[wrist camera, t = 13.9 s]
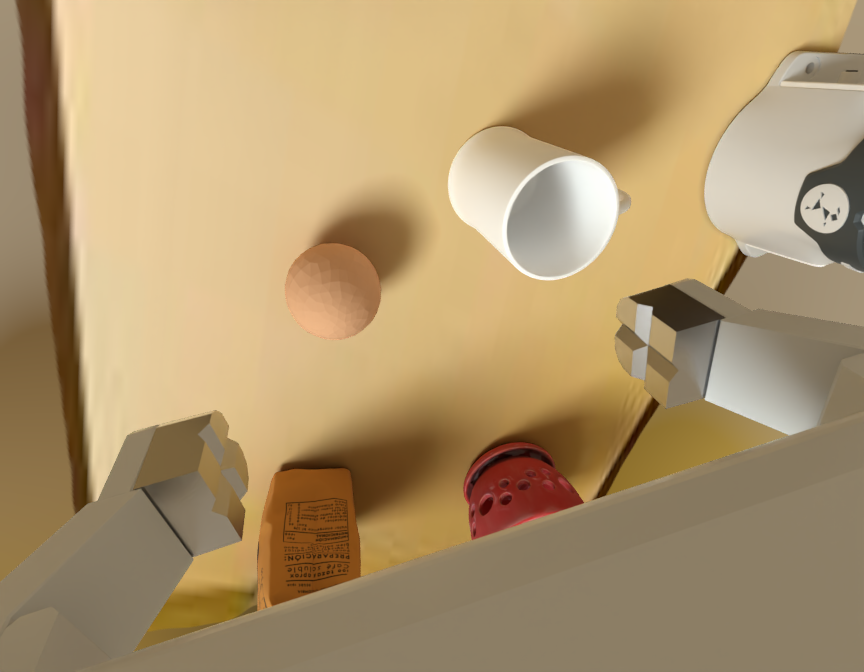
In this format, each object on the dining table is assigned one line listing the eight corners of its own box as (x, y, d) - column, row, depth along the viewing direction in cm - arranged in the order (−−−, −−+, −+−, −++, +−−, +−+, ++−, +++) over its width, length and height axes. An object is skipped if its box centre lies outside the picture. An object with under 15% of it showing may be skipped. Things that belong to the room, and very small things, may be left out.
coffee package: (251, 538, 54) (228, 787, 36) (269, 457, 49) (252, 699, 31) (337, 539, 58) (356, 765, 39) (362, 463, 52) (398, 683, 34)
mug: (587, 132, 40) (684, 158, 30) (564, 231, 44) (642, 282, 34) (453, 121, 37) (511, 146, 27) (442, 229, 41) (489, 285, 31)
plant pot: (524, 412, 55) (575, 492, 45) (565, 470, 62) (617, 551, 52) (431, 472, 56) (460, 563, 46) (482, 522, 63) (517, 611, 53)
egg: (317, 212, 38) (322, 248, 31) (390, 261, 41) (409, 303, 34) (268, 283, 40) (262, 332, 33) (342, 324, 43) (351, 377, 36)
